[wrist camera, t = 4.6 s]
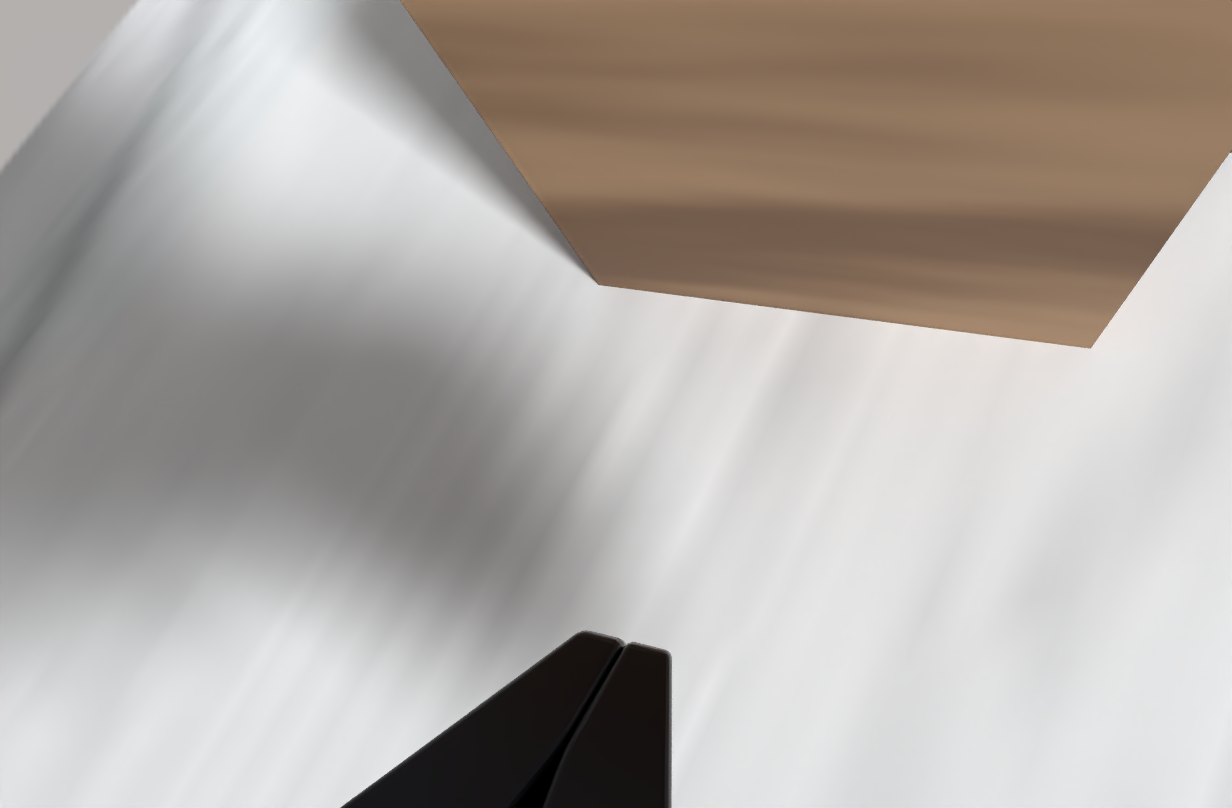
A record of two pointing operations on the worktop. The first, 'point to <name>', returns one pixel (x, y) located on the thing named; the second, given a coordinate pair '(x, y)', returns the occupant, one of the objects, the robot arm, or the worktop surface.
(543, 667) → the robot arm
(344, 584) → the worktop surface
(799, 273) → the light brown wooden block
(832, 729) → the worktop surface
